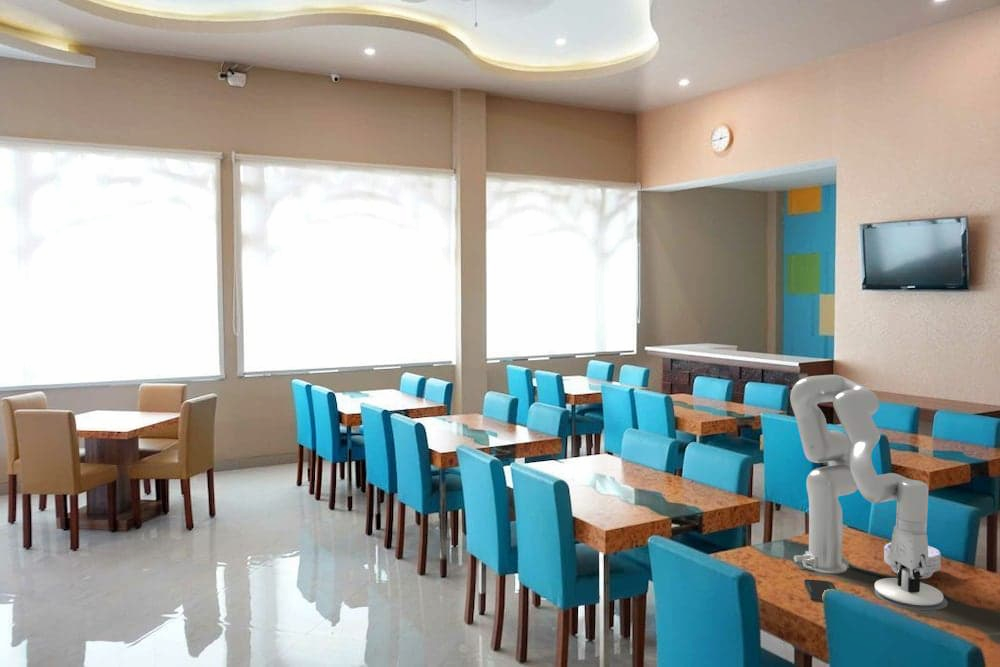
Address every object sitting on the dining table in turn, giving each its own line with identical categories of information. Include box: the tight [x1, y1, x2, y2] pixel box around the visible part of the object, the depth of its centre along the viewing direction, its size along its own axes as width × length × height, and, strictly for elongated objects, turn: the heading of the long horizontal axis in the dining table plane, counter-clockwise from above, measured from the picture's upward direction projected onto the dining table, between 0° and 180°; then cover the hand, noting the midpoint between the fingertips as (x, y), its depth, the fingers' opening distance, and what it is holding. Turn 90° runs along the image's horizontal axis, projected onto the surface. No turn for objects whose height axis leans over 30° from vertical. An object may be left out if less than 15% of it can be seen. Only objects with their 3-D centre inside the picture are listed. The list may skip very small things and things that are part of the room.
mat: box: [874, 589, 948, 611], centre depth 212 cm, size 18×18×1 cm
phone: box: [804, 578, 836, 603], centre depth 217 cm, size 8×1×15 cm
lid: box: [874, 568, 944, 606], centre depth 212 cm, size 17×17×6 cm
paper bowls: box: [883, 542, 942, 580], centre depth 231 cm, size 15×15×8 cm
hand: (908, 588), depth 212 cm, fingers closed on lid, 3 cm apart
